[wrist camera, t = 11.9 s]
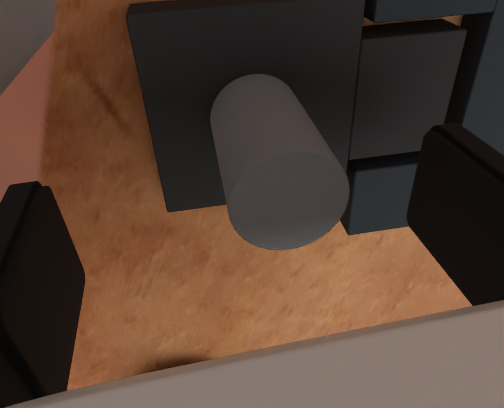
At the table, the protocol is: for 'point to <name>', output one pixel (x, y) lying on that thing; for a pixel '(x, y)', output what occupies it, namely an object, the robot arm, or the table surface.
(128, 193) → the table surface
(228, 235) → the table surface
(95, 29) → the table surface
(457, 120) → the dock pad
